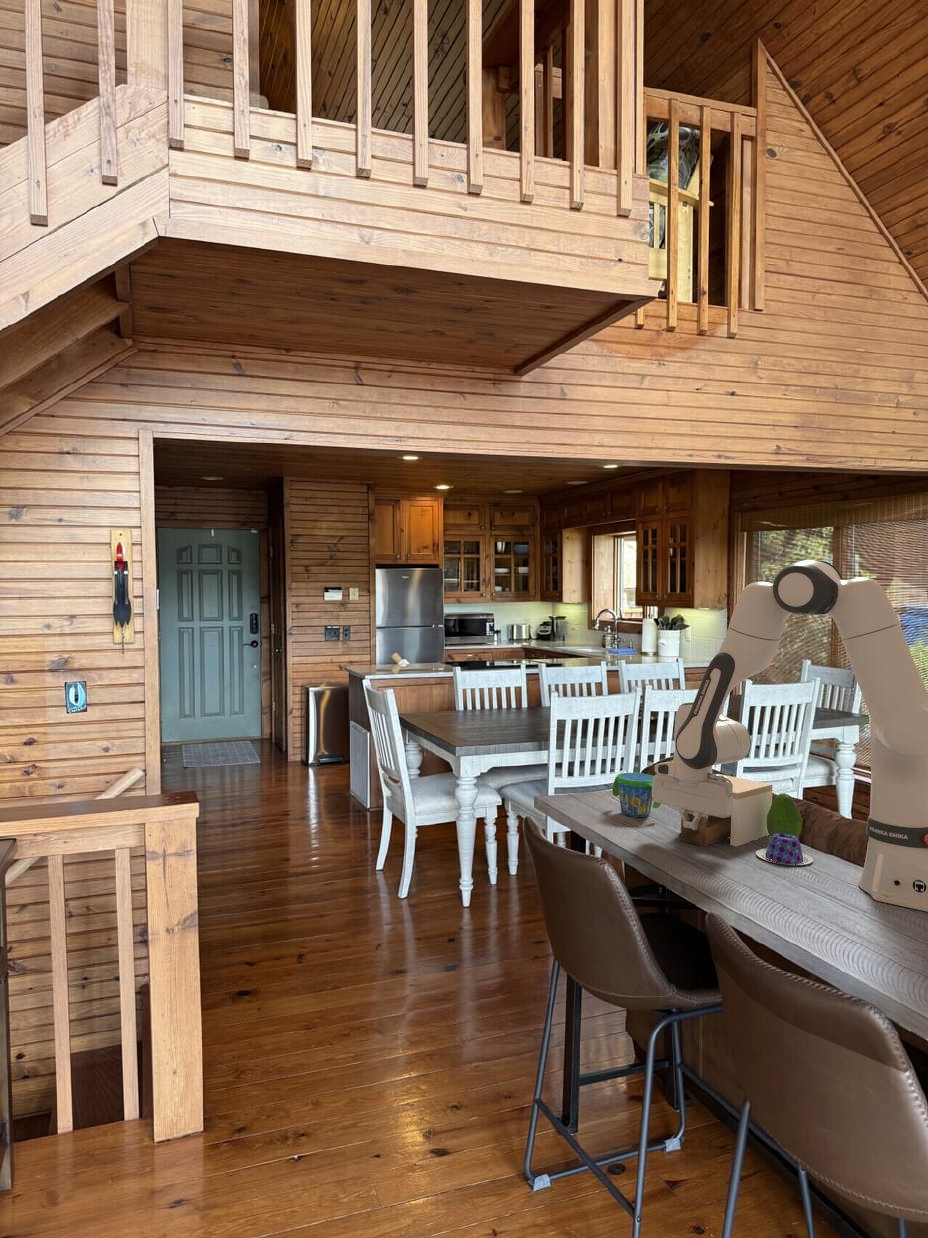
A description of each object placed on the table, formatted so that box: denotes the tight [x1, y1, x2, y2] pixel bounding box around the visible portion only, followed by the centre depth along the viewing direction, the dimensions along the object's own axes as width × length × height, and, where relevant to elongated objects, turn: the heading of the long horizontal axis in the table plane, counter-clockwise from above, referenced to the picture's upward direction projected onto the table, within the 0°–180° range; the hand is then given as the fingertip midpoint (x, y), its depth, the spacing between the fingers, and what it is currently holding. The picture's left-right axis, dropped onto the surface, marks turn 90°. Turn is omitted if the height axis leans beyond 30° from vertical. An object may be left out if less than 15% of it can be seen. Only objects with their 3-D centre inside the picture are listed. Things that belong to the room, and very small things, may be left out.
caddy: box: [680, 812, 731, 847], centre depth 202 cm, size 6×19×8 cm, turn 132°
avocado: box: [766, 792, 803, 838], centre depth 198 cm, size 8×8×12 cm
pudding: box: [755, 833, 814, 866], centre depth 186 cm, size 12×12×5 cm
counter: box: [689, 773, 773, 847], centre depth 205 cm, size 15×16×12 cm
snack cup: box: [611, 772, 662, 818], centre depth 222 cm, size 16×10×10 cm
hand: (690, 828), depth 195 cm, fingers closed, pressing on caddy
